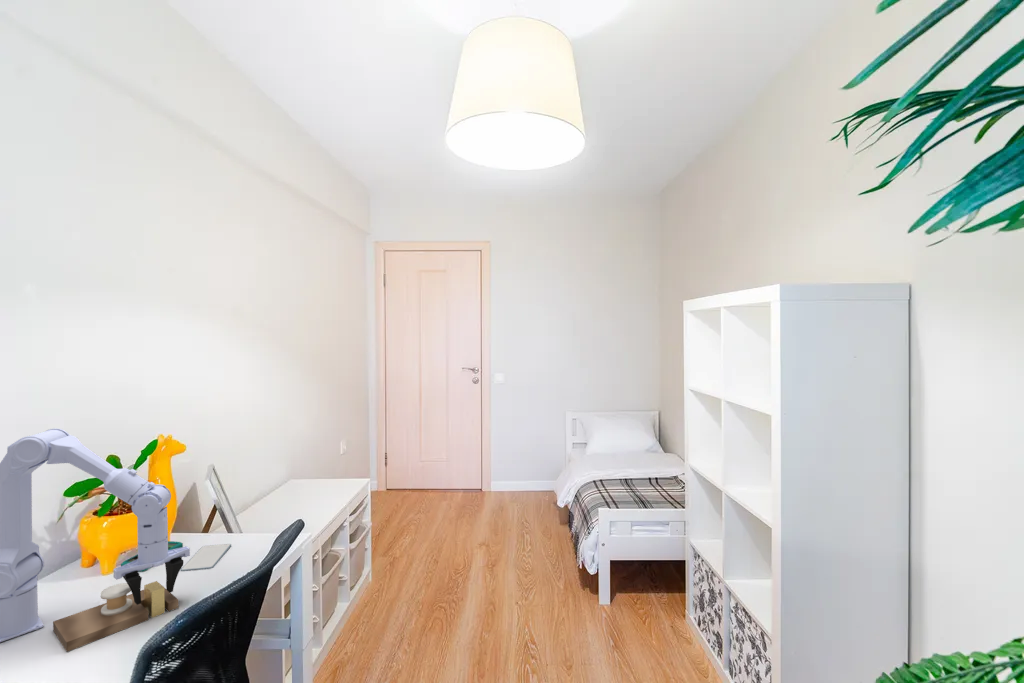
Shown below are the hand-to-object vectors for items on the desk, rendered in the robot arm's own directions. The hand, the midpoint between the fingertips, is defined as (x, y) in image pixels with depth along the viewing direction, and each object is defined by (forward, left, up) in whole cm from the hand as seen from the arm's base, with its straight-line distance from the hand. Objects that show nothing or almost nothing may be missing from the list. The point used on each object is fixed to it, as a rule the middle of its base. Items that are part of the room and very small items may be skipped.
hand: (154, 596), depth 115 cm
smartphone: (+19, +20, -4) cm, 28 cm away
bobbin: (-6, +4, -1) cm, 7 cm away
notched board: (-6, +3, -3) cm, 8 cm away
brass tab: (0, 0, -3) cm, 3 cm away
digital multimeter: (+9, +31, -4) cm, 33 cm away
